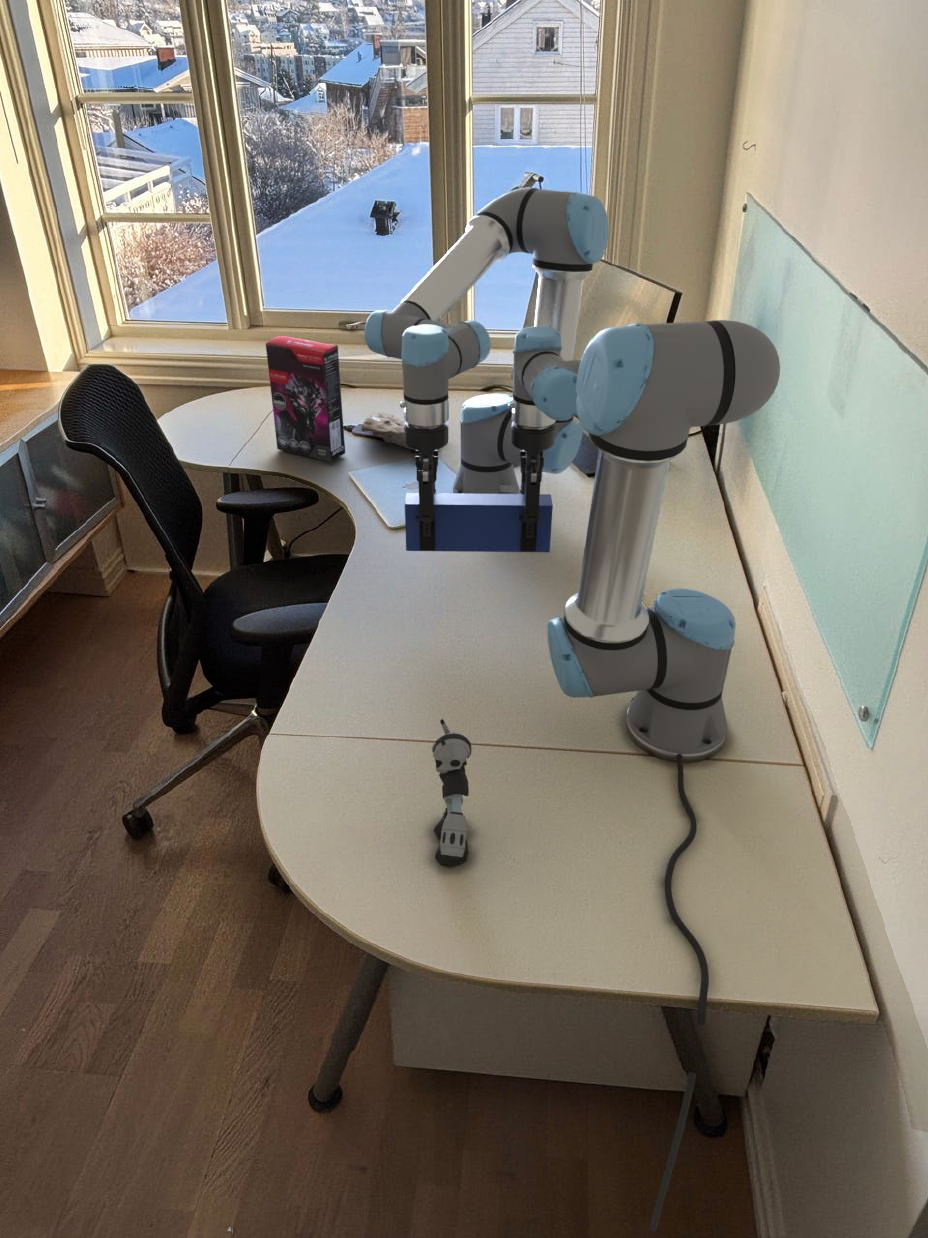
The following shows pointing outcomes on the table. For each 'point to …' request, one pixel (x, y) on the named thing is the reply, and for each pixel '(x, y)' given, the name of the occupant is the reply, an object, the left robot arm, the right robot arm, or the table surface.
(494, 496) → the bar
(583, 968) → the table surface
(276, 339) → the graphics card box
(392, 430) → the stone
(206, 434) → the table surface
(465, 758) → the robot
